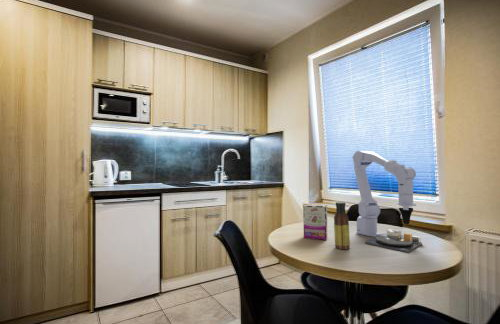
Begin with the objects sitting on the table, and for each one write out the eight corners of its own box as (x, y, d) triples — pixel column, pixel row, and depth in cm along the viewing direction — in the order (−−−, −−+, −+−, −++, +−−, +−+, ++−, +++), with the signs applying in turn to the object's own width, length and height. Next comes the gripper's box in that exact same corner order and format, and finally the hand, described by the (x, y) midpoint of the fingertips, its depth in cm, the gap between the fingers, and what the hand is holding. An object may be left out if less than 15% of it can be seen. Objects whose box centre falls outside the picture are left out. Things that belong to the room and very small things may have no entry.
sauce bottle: (349, 246, 119) (349, 201, 119) (350, 250, 113) (349, 203, 113) (334, 245, 121) (334, 201, 121) (333, 249, 115) (333, 203, 116)
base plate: (365, 243, 124) (365, 236, 124) (381, 236, 136) (381, 229, 136) (408, 252, 110) (408, 244, 110) (422, 244, 122) (421, 236, 122)
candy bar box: (327, 238, 133) (327, 205, 134) (326, 240, 129) (326, 206, 129) (305, 235, 137) (305, 203, 138) (303, 238, 133) (303, 205, 133)
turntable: (370, 241, 123) (369, 231, 124) (383, 235, 134) (383, 226, 134) (405, 248, 112) (405, 237, 112) (417, 241, 122) (417, 231, 122)
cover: (384, 237, 123) (384, 230, 123) (389, 235, 127) (389, 228, 127) (399, 240, 119) (399, 233, 119) (403, 237, 123) (403, 230, 123)
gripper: (416, 195, 113) (417, 227, 113) (415, 192, 126) (416, 221, 125) (397, 194, 117) (398, 226, 116) (398, 192, 129) (399, 220, 129)
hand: (406, 223), depth 121 cm, fingers closed
